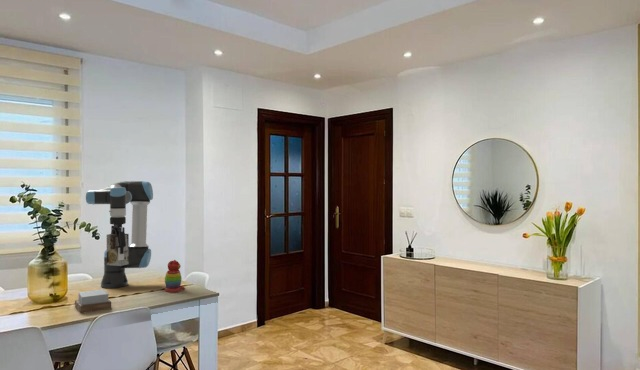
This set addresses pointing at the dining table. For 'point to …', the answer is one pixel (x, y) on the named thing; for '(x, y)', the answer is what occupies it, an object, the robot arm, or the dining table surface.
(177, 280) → the stacking bear
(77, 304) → the base slab
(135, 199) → the robot arm
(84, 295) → the top slab
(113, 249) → the coffee box
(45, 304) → the dining table surface
